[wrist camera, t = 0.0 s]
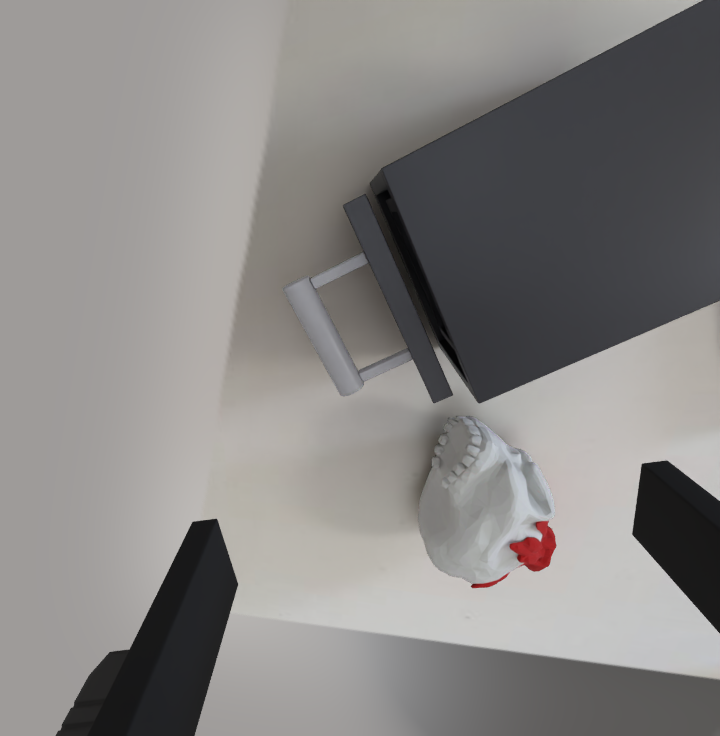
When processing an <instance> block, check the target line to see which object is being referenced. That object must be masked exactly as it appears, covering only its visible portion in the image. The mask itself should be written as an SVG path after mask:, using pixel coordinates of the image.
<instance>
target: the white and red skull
mask: <svg viewBox="0 0 720 736" xmlns="http://www.w3.org/2000/svg"><path fill="white" fill-rule="evenodd" d="M448 422H449V423H447V424H445V425H444V427H443V430H444V431H446V432H447V433H446V434H442V435H441V436H440V437H439V439H438V440H439V443H440V444H438V445H436V446H435V449H434V452H435V454H436V456H435V457H433V458H432V459H431V461H432V464H431V465H432V466H433V467H432V469H431V471H430V473H429V475H428V478H427V481H426V483H425V486H424V489H423V491H422V494H421V498H420V502H419V514H418V522H419V529H420V533H421V536H422V538H423V540H424V543H425V547H426V551H427V554H428V555H429V557H430V559H431V561H432V563H433V564H434V565H435V566H436V567H437V568H438V569H439V570H440V571H442V572H444V573H446V574H448V575H450V576H454V577H459V578H462V579H464V580H466V581H468V582H470V583H472V586H471V587H472V588H485V587H490V586H493V585H495V584H497V583H498V582H499V581H501V580H503V579H504V578H506V577H507V575H508V574H509V573H510V572H511V571H512V570H514V569H516V568H518V567H520V566H522V565H525V566H526V567H527V568H528V569H530V570H532V571H540V570H542V569H544V568H545V567H548V566H549V564H550V560H551V556H552V554H553V552H554V550H555V548H556V542H555V535H554V533H553V531H552V529H551V528H550V527H548V522H549V520H551V519H553V517H554V515H555V507H554V502H553V497H552V494H551V491H550V488H549V486H548V484H547V482H546V480H545V478H544V476H543V474H542V472H541V470H540V468H539V466H538V465H537V464H536V463H534V462H532V460H531V457H530V455H529V454H528V453H527V452H526V451H524V450H521V449H517V448H513V447H511V446H509V445H507V444H506V443H505V442H504V441H503V440H502V439H501V438H500V437H499V436H498V435H496V434H495V433H494V432H493V431H492V430H490V429H489V428H488V427H487V426H486V425H485V424H483V423H482V422H481V421H479V420H478V419H476V418H475V417H471V416H466V417H463V416H457V417H456V418H448Z"/></svg>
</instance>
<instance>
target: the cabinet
mask: <svg viewBox="0 0 720 736" xmlns="http://www.w3.org/2000/svg"><path fill="white" fill-rule="evenodd" d="M370 185H371V188H372V190H373V192H374V195H375V197H376V199H377V202H378V204H379V206H380V209H381V211H382V213H383V216H384V218H385V220H386V223H387V225H388V227H389V230H390V232H391V234H392V237H393V239H394V241H395V244H396V246H397V248H398V251H399V253H400V255H401V258H402V260H403V262H404V265H405V267H406V269H407V272H408V274H409V276H410V279H411V281H412V283H413V286H414V288H415V290H416V293H417V295H418V297H419V300H420V302H421V304H422V307H423V309H424V311H425V314H426V316H427V318H428V321H429V323H430V325H431V328H432V330H433V332H434V335H435V337H436V339H437V342H438V344H439V346H440V348H441V350H442V351H443V353H444V354H445V356H446V357H447V358H448V360H449V361H450V363H451V364H452V366H453V367H454V369H455V370H456V372H457V373H458V374H459V376H460V377H461V379H462V380H463V382H464V383H465V385H466V386H467V387H468V389H469V390H470V392H471V393H472V395H473V396H474V398H475V399H476V401H477V402H478V403H482V402H484V401H486V400H489V399H491V398H493V397H496V396H498V395H500V394H503V393H505V392H507V391H510V390H512V389H514V388H517V387H519V386H521V385H524V384H526V383H528V382H531V381H533V380H535V379H538V378H540V377H542V376H545V375H547V374H549V373H552V372H554V371H556V370H559V369H561V368H563V367H566V366H568V365H570V364H573V363H575V362H577V361H580V360H582V359H584V358H587V357H589V356H591V355H594V354H596V353H598V352H601V351H603V350H605V349H608V348H610V347H612V346H615V345H617V344H619V343H622V342H624V341H626V340H629V339H631V338H633V337H636V336H638V335H640V334H643V333H645V332H647V331H650V330H652V329H654V328H657V327H659V326H661V325H664V324H666V323H668V322H671V321H673V320H675V319H678V318H680V317H682V316H685V315H687V314H689V313H692V312H694V311H696V310H699V309H701V308H703V307H706V306H708V305H710V304H713V303H715V302H717V301H720V0H703V1H701V2H699V3H697V4H695V5H693V6H691V7H689V8H688V9H686V10H684V11H682V12H680V13H678V14H676V15H674V16H672V17H670V18H668V19H667V20H665V21H663V22H661V23H659V24H657V25H655V26H653V27H651V28H649V29H647V30H645V31H644V32H642V33H640V34H638V35H636V36H634V37H632V38H630V39H628V40H626V41H624V42H623V43H621V44H619V45H617V46H615V47H613V48H611V49H609V50H607V51H605V52H603V53H601V54H600V55H598V56H596V57H594V58H592V59H590V60H588V61H586V62H584V63H582V64H580V65H579V66H577V67H575V68H573V69H571V70H569V71H567V72H565V73H563V74H561V75H559V76H557V77H556V78H554V79H552V80H550V81H548V82H546V83H544V84H542V85H540V86H538V87H536V88H535V89H533V90H531V91H529V92H527V93H525V94H523V95H521V96H519V97H517V98H515V99H514V100H512V101H510V102H508V103H506V104H504V105H502V106H500V107H498V108H496V109H494V110H492V111H491V112H489V113H487V114H485V115H483V116H481V117H479V118H477V119H475V120H473V121H471V122H470V123H468V124H466V125H464V126H462V127H460V128H458V129H456V130H454V131H452V132H450V133H448V134H447V135H445V136H443V137H441V138H439V139H437V140H435V141H433V142H431V143H429V144H427V145H426V146H424V147H422V148H420V149H418V150H416V151H414V152H412V153H410V154H408V155H406V156H404V157H403V158H401V159H399V160H397V161H395V162H393V163H391V164H389V165H387V166H385V167H383V168H382V169H381V170H380V172H379V173H378V174H377V175H376V176H375V178H374V179H373V180H372V181H371V182H370ZM389 198H391V199H392V201H393V203H394V206H395V208H396V211H397V213H398V215H399V218H400V220H401V223H402V225H403V227H404V230H405V232H406V235H407V237H408V239H409V242H410V244H411V247H412V249H413V251H414V254H415V256H416V259H417V261H418V263H419V266H420V268H421V271H422V273H423V276H424V278H425V280H426V283H427V285H428V288H429V290H430V292H431V295H432V297H433V300H434V302H435V304H436V307H437V309H438V312H439V314H440V316H441V319H442V321H443V324H444V326H445V328H446V331H447V333H448V336H449V338H450V340H451V343H452V345H453V348H454V349H453V348H452V346H451V345H450V344H449V343H448V341H447V340H446V339H445V338H444V336H443V335H442V333H441V331H440V329H439V326H438V324H437V322H436V319H435V317H434V314H433V312H432V310H431V307H430V305H429V303H428V300H427V298H426V295H425V293H424V291H423V288H422V286H421V284H420V281H419V279H418V276H417V274H416V272H415V269H414V267H413V265H412V262H411V260H410V257H409V255H408V253H407V250H406V248H405V246H404V243H403V241H402V238H401V236H400V234H399V231H398V229H397V227H396V224H395V222H394V219H393V217H392V215H391V212H390V210H389V208H388V205H387V203H386V200H387V199H389Z"/></svg>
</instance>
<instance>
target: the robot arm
mask: <svg viewBox="0 0 720 736" xmlns="http://www.w3.org/2000/svg"><path fill="white" fill-rule="evenodd" d="M632 535H633V536H634V537H635V538H636V539H637V540H638V541H639V543H640V544H641V545H642V546H643V547H644V548H645V549H646V550H647V552H648V553H649V554H650V555H651V556H652V557H653V558H654V560H655V561H656V562H657V563H658V564H659V565H660V566H661V567H662V569H663V570H664V571H665V572H666V573H667V574H668V575H669V576H670V578H671V579H672V580H673V581H674V582H675V583H676V584H677V586H678V587H679V588H680V589H681V590H682V591H683V592H684V593H685V595H686V596H687V597H688V598H689V599H690V600H691V601H692V602H693V604H694V605H695V606H696V607H697V608H698V609H699V610H700V612H701V613H702V614H703V615H704V616H705V617H706V618H707V619H708V621H709V622H710V623H711V624H712V625H713V626H714V627H715V628H716V630H717V631H718V632H719V633H720V501H719V500H717V499H716V498H715V497H713V496H712V495H711V494H710V493H708V492H707V491H706V490H704V489H703V488H702V487H701V486H699V485H698V484H697V483H695V482H694V481H693V480H692V479H690V478H689V477H688V476H686V475H685V474H684V473H683V472H681V471H680V470H679V469H677V468H676V467H675V466H674V465H672V464H671V463H670V462H668V461H660V462H652V463H644V464H642V467H641V474H640V481H639V489H638V496H637V504H636V511H635V518H634V526H633V533H632ZM237 586H238V582H237V579H236V576H235V573H234V570H233V567H232V564H231V561H230V558H229V554H228V551H227V548H226V545H225V542H224V539H223V536H222V533H221V530H220V527H219V523H218V520H217V519H211V520H203V521H196V522H192V524H191V526H190V528H189V530H188V532H187V534H186V536H185V539H184V540H183V543H182V545H181V547H180V549H179V551H178V553H177V555H176V557H175V559H174V561H173V563H172V565H171V567H170V569H169V571H168V573H167V575H166V577H165V579H164V581H163V583H162V585H161V587H160V589H159V591H158V593H157V595H156V597H155V599H154V601H153V603H152V605H151V608H150V610H149V612H148V613H147V616H146V618H145V620H144V622H143V624H142V626H141V628H140V630H139V632H138V634H137V636H136V638H135V640H134V642H133V644H132V646H131V648H130V650H122V651H114V652H109V654H108V655H107V656H106V657H105V658H104V659H103V660H102V661H101V663H100V664H99V665H98V666H97V667H96V668H95V669H94V671H93V672H92V673H91V674H90V675H89V677H88V679H87V680H86V682H85V684H84V686H83V687H82V689H81V691H80V693H79V695H78V697H77V698H76V700H75V702H74V707H73V708H71V709H70V711H69V713H68V715H67V716H66V718H65V720H64V722H63V724H62V728H61V730H60V731H58V733H57V734H56V736H194V735H195V732H196V728H197V725H198V721H199V718H200V714H201V711H202V707H203V704H204V701H205V697H206V694H207V690H208V686H209V683H210V680H211V676H212V673H213V669H214V666H215V662H216V658H217V655H218V652H219V649H220V645H221V642H222V638H223V634H224V631H225V628H226V624H227V621H228V618H229V614H230V611H231V607H232V604H233V600H234V597H235V593H236V590H237Z"/></svg>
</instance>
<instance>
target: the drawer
mask: <svg viewBox="0 0 720 736" xmlns="http://www.w3.org/2000/svg"><path fill="white" fill-rule="evenodd" d="M386 203H387V205H388V208H389V210H390V212H391V215H392V217H393V219H394V222H395V224H396V227H397V229H398V231H399V234H400V236H401V238H402V241H403V243H404V246H405V248H406V250H407V253H408V255H409V257H410V260H411V262H412V265H413V267H414V269H415V272H416V274H417V276H418V279H419V281H420V284H421V286H422V288H423V291H424V293H425V295H426V298H427V300H428V303H429V305H430V307H431V310H432V312H433V314H434V317H435V319H436V322H437V324H438V326H439V329H440V331H441V333H442V335H443V336H444V338H445V339H446V340H447V341H448V343H449V344H450V345H451V346H452V348H453V345H452V343H451V340H450V338H449V336H448V333H447V331H446V328H445V326H444V324H443V321H442V319H441V316H440V314H439V312H438V309H437V307H436V304H435V302H434V300H433V297H432V295H431V292H430V290H429V288H428V285H427V283H426V280H425V278H424V276H423V273H422V271H421V268H420V266H419V263H418V261H417V259H416V256H415V254H414V251H413V249H412V247H411V244H410V242H409V239H408V237H407V235H406V232H405V230H404V227H403V225H402V223H401V220H400V218H399V215H398V213H397V211H396V208H395V206H394V203H393V201H392V199H391V198H389V199H387V200H386ZM343 207H344V209H345V212H346V214H347V216H348V218H349V220H350V223H351V225H352V227H353V229H354V231H355V233H356V236H357V238H358V240H359V242H360V244H361V247H362V249H363V251H364V252H362V253H360V254H358V255H356V256H354V257H352V258H349V259H347V260H345V261H343V262H341V263H339V264H337V265H335V266H333V267H331V268H329V269H327V270H325V271H323V272H321V273H319V274H317V275H315V276H313V277H312V278H311V279H310V277H309V276H308V275H306V276H303V277H301V278H299V279H297V280H295V281H293V282H291V283H289V284H288V285H286V286H285V287H283V288H282V290H283V291H284V293H285V295H286V297H287V299H288V301H289V302H290V304H291V306H292V308H293V310H294V312H295V313H296V315H297V317H298V319H299V321H300V322H301V324H302V326H303V328H304V330H305V332H306V333H307V335H308V337H309V339H310V341H311V343H312V344H313V346H314V348H315V350H316V352H317V354H318V355H319V357H320V359H321V361H322V363H323V364H324V366H325V368H326V370H327V372H328V374H329V375H330V377H331V379H332V381H333V383H334V385H335V386H336V388H337V390H338V392H339V394H340V395H341V396H348V395H351V394H353V393H355V392H357V391H358V390H360V389H361V388H362V387H363V385H364V381H366V380H368V379H371V378H373V377H375V376H377V375H379V374H382V373H384V372H386V371H388V370H390V369H393V368H395V367H397V366H399V365H401V364H404V363H406V362H408V361H410V360H412V359H413V360H414V362H415V364H416V366H417V369H418V371H419V373H420V375H421V377H422V379H423V382H424V384H425V386H426V388H427V390H428V392H429V395H430V397H431V399H432V401H433V403H436V402H438V401H441V400H443V399H445V398H448V397H450V396H452V395H453V393H452V391H451V389H450V386H449V384H448V382H447V380H446V377H445V375H444V373H443V370H442V368H441V366H440V363H439V361H438V359H437V357H436V354H435V352H434V350H433V347H432V345H431V343H430V341H429V338H428V336H427V334H426V331H425V329H424V327H423V324H422V322H421V320H420V318H419V315H418V313H417V311H416V308H415V306H414V304H413V301H412V299H411V297H410V295H409V292H408V290H407V288H406V285H405V283H404V281H403V278H402V276H401V274H400V272H399V269H398V267H397V265H396V262H395V260H394V258H393V256H392V253H391V251H390V249H389V246H388V244H387V242H386V239H385V237H384V235H383V233H382V230H381V228H380V226H379V223H378V221H377V219H376V216H375V214H374V212H373V210H372V207H371V205H370V203H369V200H368V198H367V196H366V194H364V195H362V196H360V197H358V198H356V199H354V200H352V201H350V202H348V203H346V204H344V205H343ZM368 262H369V264H370V266H371V268H372V270H373V273H374V275H375V277H376V279H377V281H378V284H379V286H380V288H381V290H382V292H383V294H384V297H385V299H386V301H387V303H388V305H389V308H390V310H391V312H392V314H393V316H394V318H395V321H396V323H397V325H398V327H399V329H400V331H401V334H402V336H403V338H404V340H405V342H406V345H407V347H408V348H406V349H404V350H402V351H400V352H398V353H395V354H393V355H391V356H389V357H387V358H384V359H382V360H380V361H378V362H376V363H374V364H371V365H369V366H367V367H365V368H363V369H360V370H359V372H358V370H357V368H356V366H355V364H354V362H353V360H352V358H351V356H350V354H349V352H348V350H347V349H346V347H345V345H344V343H343V341H342V339H341V337H340V335H339V333H338V331H337V329H336V327H335V325H334V323H333V321H332V320H331V318H330V316H329V314H328V312H327V310H326V308H325V306H324V304H323V302H322V300H321V298H320V296H319V294H318V293H317V291H316V289H317V288H319V287H321V286H323V285H325V284H327V283H329V282H331V281H333V280H335V279H337V278H339V277H341V276H343V275H345V274H347V273H349V272H351V271H353V270H355V269H357V268H359V267H361V266H364V265H366V264H368ZM453 349H454V348H453Z"/></svg>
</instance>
